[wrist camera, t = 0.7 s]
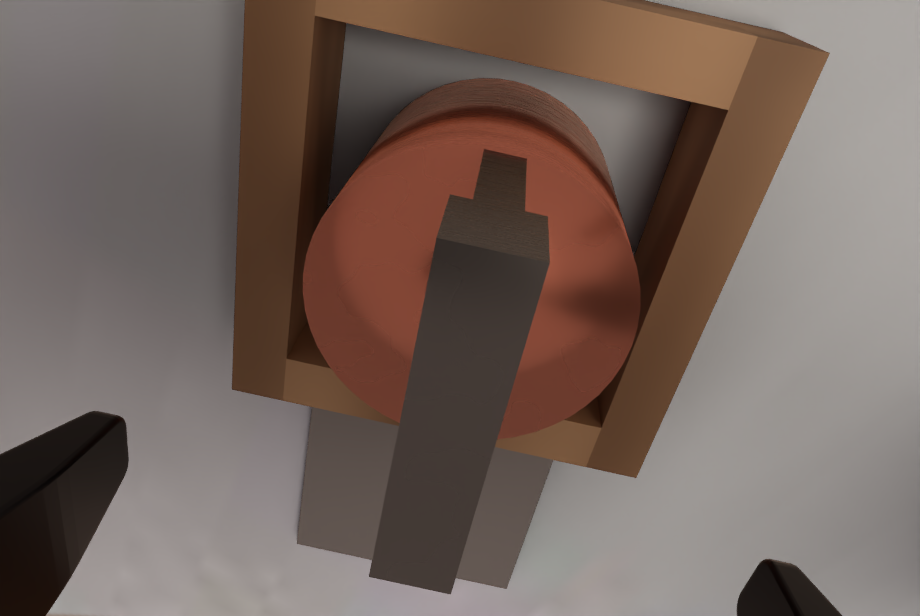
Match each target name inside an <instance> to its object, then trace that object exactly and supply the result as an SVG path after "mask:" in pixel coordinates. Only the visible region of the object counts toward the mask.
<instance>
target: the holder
mask: <svg viewBox="0 0 920 616" xmlns="http://www.w3.org/2000/svg"><path fill="white" fill-rule="evenodd" d="M346 23H350V24H354V25H358V26H363V27H367V28H371V29H376V30H380V31H385V32H389V33H393V34H398V35H402V36H406V37H411V38H415V39H419V40H424V41H428V42H433V43H437V44H441V45H446V46H450V47H454V48H459V49H463V50H468V51H472V52H476V53H481V54H485V55H489V56H494V57H498V58H503V59H507V60H511V61H516V62H520V63H524V64H529V65H533V66H538V67H542V68H546V69H551V70H555V71H559V72H564V73H568V74H573V75H577V76H581V77H586V78H590V79H594V80H599V81H603V82H608V83H612V84H616V85H621V86H625V87H629V88H634V89H638V90H643V91H647V92H651V93H656V94H660V95H664V96H669V97H673V98H678V99H682V100H686V101H691V104H690V107H689V110H688V112H687V115H686V118H685V121H684V123H683V126H682V129H681V131H680V134H679V137H678V139H677V142H676V145H675V148H674V150H673V153H672V156H671V158H670V161H669V164H668V167H667V169H666V172H665V175H664V177H663V180H662V183H661V186H660V188H659V191H658V194H657V196H656V199H655V202H654V204H653V207H652V210H651V213H650V215H649V218H648V221H647V223H646V226H645V229H644V232H643V234H642V237H641V240H640V242H639V245H638V248H637V251H636V253H635V256H634V259H635V263H636V266H637V270H638V277H639V283H640V314H639V321H638V327H637V331H636V334H635V337H634V341H633V344H632V347H631V349H630V351H629V353H628V355H627V357H626V359H625V361H624V363H623V365H622V366H621V368H620V369H619V371H618V372H617V374H616V375H615V377H614V378H613V380H612V381H611V382H610V383H609V384H608V385H607V386H606V388H605V389H604V390H603V391H602V392H601V393H600V394H599V395H598V396H597V397H596V398H595V399H593V400H592V401H591V402H590V403H589V404H588V405H586V406H585V407H584V408H582V409H581V410H579V411H578V412H576V413H575V414H573V415H572V416H570V417H568V418H566V419H564V420H562V421H560V422H558V423H556V424H555V425H553V426H550V427H547V428H544V429H542V430H539V431H536V432H533V433H529V434H525V435H521V436H517V437H512V438H505V439H498V440H497V441H496V445H495V447H497V448H502V449H506V450H511V451H515V452H520V453H525V454H529V455H534V456H538V457H543V458H547V459H552V460H556V461H561V462H566V463H570V464H575V465H579V466H584V467H588V468H593V469H598V470H602V471H607V472H611V473H616V474H620V475H625V476H629V477H634V478H636V477H637V475H638V473H639V470H640V468H641V466H642V464H643V462H644V459H645V457H646V455H647V453H648V451H649V448H650V446H651V444H652V442H653V440H654V438H655V435H656V433H657V431H658V429H659V427H660V424H661V422H662V420H663V418H664V416H665V413H666V411H667V409H668V407H669V405H670V402H671V400H672V398H673V396H674V394H675V391H676V389H677V387H678V385H679V383H680V380H681V378H682V376H683V374H684V372H685V370H686V367H687V365H688V363H689V361H690V359H691V356H692V354H693V352H694V350H695V348H696V345H697V343H698V341H699V339H700V337H701V334H702V332H703V330H704V328H705V326H706V323H707V321H708V319H709V317H710V315H711V312H712V310H713V308H714V306H715V304H716V302H717V299H718V297H719V295H720V293H721V291H722V288H723V286H724V284H725V282H726V280H727V277H728V275H729V273H730V271H731V269H732V266H733V264H734V262H735V260H736V258H737V255H738V253H739V251H740V249H741V247H742V244H743V242H744V240H745V238H746V236H747V234H748V231H749V229H750V227H751V225H752V223H753V220H754V218H755V216H756V214H757V212H758V209H759V207H760V205H761V203H762V201H763V198H764V196H765V194H766V192H767V190H768V187H769V185H770V183H771V181H772V179H773V176H774V174H775V172H776V170H777V168H778V166H779V163H780V161H781V159H782V157H783V155H784V152H785V150H786V148H787V146H788V144H789V141H790V139H791V137H792V135H793V133H794V130H795V128H796V126H797V124H798V122H799V119H800V117H801V115H802V113H803V111H804V109H805V106H806V104H807V102H808V100H809V98H810V95H811V93H812V91H813V89H814V87H815V84H816V82H817V80H818V78H819V76H820V73H821V71H822V69H823V67H824V65H825V62H826V60H827V58H828V56H829V54H830V53H828V52H826V51H824V50H821V49H819V48H817V47H815V46H812V45H810V44H808V43H806V42H803V41H801V40H799V39H797V38H794V37H792V36H790V35H788V34H785V33H783V32H779V31H775V30H771V29H766V28H762V27H758V26H753V25H749V24H745V23H740V22H736V21H732V20H727V19H723V18H719V17H714V16H710V15H706V14H701V13H697V12H693V11H688V10H684V9H680V8H675V7H671V6H667V5H662V4H658V3H654V2H649V1H645V0H245V13H244V43H243V73H242V103H241V133H240V163H239V193H238V223H237V253H236V283H235V313H234V343H233V373H232V390H237V391H242V392H246V393H251V394H255V395H260V396H264V397H269V398H274V399H278V400H283V401H287V402H292V403H296V404H301V405H305V406H310V407H315V408H319V409H324V410H328V411H333V412H337V413H342V414H347V415H351V416H356V417H360V418H365V419H369V420H374V421H378V422H383V423H388V424H392V425H397V426H399V423H398V422H396V421H394V420H392V419H390V418H388V417H386V416H385V415H383V414H381V413H380V412H378V411H377V410H375V409H374V408H372V407H370V406H369V405H367V404H366V403H365V402H364V401H362V400H361V399H360V398H359V397H358V396H356V395H355V394H354V393H353V392H352V391H351V390H350V389H349V388H348V387H347V386H346V385H345V384H344V383H343V382H342V381H341V380H340V379H339V378H338V377H337V375H336V374H335V373H334V371H333V370H332V369H331V368H330V366H329V365H328V364H327V362H326V360H325V359H324V357H323V355H322V354H321V352H320V350H319V348H318V347H317V344H316V342H315V340H314V337H313V335H312V333H311V330H310V327H309V323H308V320H307V316H306V312H305V306H304V298H303V271H304V265H305V259H306V254H307V251H308V248H309V245H310V242H311V239H312V236H313V234H314V232H315V230H316V228H317V226H318V224H319V222H320V220H321V218H322V216H323V215H324V214H325V212H326V211H327V201H328V192H329V182H330V173H331V163H332V154H333V144H334V135H335V125H336V116H337V106H338V97H339V87H340V78H341V68H342V59H343V49H344V40H345V30H346Z"/></svg>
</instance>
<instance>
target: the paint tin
mask: <svg viewBox="0 0 920 616" xmlns="http://www.w3.org/2000/svg"><path fill="white" fill-rule="evenodd" d="M303 298H304V306H305V312H306V316H307V320H308V323H309V327H310V330H311V333H312V335H313V337H314V340H315V342H316V344H317V347H318V348H319V350H320V352H321V354H322V355H323V357H324V359H325V360H326V362H327V364H328V365H329V366H330V368H331V369H332V370H333V371H334V373H335V374H336V375H337V377H338V378H339V379H340V380H341V381H342V382H343V383H344V384H345V385H346V386H347V387H348V388H349V389H350V390H351V391H352V392H353V393H354V394H355V395H356V396H358V397H359V398H360V399H361V400H362V401H364V402H365V403H366V404H367V405H369V406H370V407H372V408H374V409H375V410H377V411H378V412H380V413H381V414H383V415H385V416H386V417H388V418H390V419H392V420H394V421H396V422H398V423H399V428H398V433H397V438H396V443H395V448H394V453H393V459H392V464H391V469H390V474H389V479H388V484H387V489H386V494H385V499H384V504H383V509H382V514H381V519H380V524H379V529H378V534H377V539H376V544H375V549H374V554H373V559H372V564H371V569H370V574H369V577H373V578H377V579H382V580H387V581H391V582H396V583H400V584H405V585H410V586H414V587H419V588H424V589H428V590H433V591H438V592H442V593H447V594H451V591H452V588H453V585H454V581H455V578H456V575H457V571H458V568H459V565H460V561H461V558H462V555H463V551H464V548H465V545H466V541H467V538H468V535H469V531H470V528H471V525H472V521H473V518H474V515H475V511H476V508H477V505H478V501H479V498H480V495H481V491H482V488H483V485H484V481H485V478H486V475H487V471H488V468H489V465H490V461H491V458H492V455H493V451H494V448H495V445H496V441H497V440H498V439H505V438H512V437H517V436H521V435H525V434H529V433H533V432H536V431H539V430H542V429H544V428H547V427H550V426H553V425H555V424H556V423H558V422H560V421H562V420H564V419H566V418H568V417H570V416H572V415H573V414H575V413H576V412H578V411H579V410H581V409H582V408H584V407H585V406H586V405H588V404H589V403H590V402H591V401H592V400H593V399H595V398H596V397H597V396H598V395H599V394H600V393H601V392H602V391H603V390H604V389H605V388H606V386H607V385H608V384H609V383H610V382H611V381H612V380H613V378H614V377H615V375H616V374H617V372H618V371H619V369H620V368H621V366H622V365H623V363H624V361H625V359H626V357H627V355H628V353H629V351H630V349H631V347H632V344H633V341H634V337H635V334H636V331H637V327H638V321H639V314H640V283H639V277H638V270H637V266H636V263H635V259H634V256H633V253H632V249H631V246H630V242H629V239H628V236H627V232H626V229H625V226H624V222H623V219H622V215H621V212H620V209H619V205H618V202H617V198H616V195H615V192H614V188H613V185H612V181H611V178H610V175H609V171H608V168H607V165H606V162H605V159H604V156H603V153H602V151H601V149H600V147H599V145H598V143H597V141H596V139H595V138H594V136H593V135H592V133H591V132H590V130H589V129H588V127H587V126H586V125H585V124H584V123H583V122H582V121H581V119H580V118H579V117H578V116H577V115H576V114H575V113H574V112H573V111H571V110H570V109H569V108H568V107H567V106H566V105H564V104H563V103H562V102H560V101H559V100H557V99H555V98H554V97H552V96H551V95H549V94H547V93H545V92H543V91H541V90H539V89H536V88H534V87H532V86H529V85H525V84H522V83H519V82H515V81H509V80H503V79H490V78H478V79H469V80H462V81H458V82H454V83H450V84H446V85H444V86H441V87H439V88H436V89H434V90H431V91H429V92H427V93H426V94H424V95H422V96H421V97H419V98H417V99H415V100H414V101H413V102H412V103H410V104H409V105H408V106H406V107H405V108H404V109H403V110H402V111H401V112H400V113H399V114H398V115H397V116H396V117H395V118H394V119H393V120H392V121H391V122H390V123H389V125H388V126H387V128H386V129H385V130H384V132H383V133H382V135H381V136H380V137H379V139H378V140H377V141H376V143H375V144H374V146H373V147H372V148H371V150H370V151H369V153H368V154H367V155H366V157H365V158H364V159H363V161H362V162H361V164H360V165H359V166H358V168H357V169H356V171H355V172H354V173H353V175H352V176H351V178H350V179H349V180H348V182H347V183H346V184H345V186H344V187H343V189H342V190H341V191H340V193H339V194H338V196H337V197H336V198H335V200H334V201H333V202H332V204H331V205H330V207H329V208H328V209H327V211H326V212H325V214H324V215H323V216H322V218H321V220H320V222H319V224H318V226H317V228H316V230H315V232H314V234H313V236H312V239H311V242H310V245H309V248H308V251H307V254H306V259H305V265H304V271H303Z"/></svg>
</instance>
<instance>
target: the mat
mask: <svg viewBox="0 0 920 616" xmlns="http://www.w3.org/2000/svg"><path fill="white" fill-rule="evenodd" d="M398 428H399V426H397V425H392V424H388V423H383V422H378V421H374V420H369V419H365V418H360V417H356V416H351V415H347V414H342V413H337V412H333V411H328V410H324V409H319V408H315V407H312V412H311V421H310V430H309V439H308V447H307V456H306V465H305V474H304V483H303V492H302V501H301V510H300V519H299V528H298V537H297V544H301V545H305V546H310V547H315V548H319V549H324V550H329V551H333V552H338V553H343V554H347V555H352V556H356V557H361V558H366V559H370V560H372V559H373V554H374V549H375V544H376V539H377V534H378V529H379V524H380V519H381V514H382V509H383V504H384V499H385V494H386V489H387V484H388V479H389V474H390V469H391V464H392V459H393V453H394V448H395V443H396V438H397V433H398ZM552 462H553V460H552V459H547V458H543V457H538V456H534V455H529V454H525V453H520V452H515V451H511V450H506V449H502V448H497V447H495V448H494V451H493V455H492V458H491V461H490V465H489V468H488V471H487V475H486V478H485V481H484V485H483V488H482V491H481V495H480V498H479V501H478V505H477V508H476V511H475V515H474V518H473V521H472V525H471V528H470V531H469V535H468V538H467V541H466V545H465V548H464V551H463V555H462V558H461V561H460V565H459V568H458V571H457V575H456V578H458V579H463V580H468V581H472V582H477V583H482V584H486V585H491V586H496V587H500V588H505V589H507V586H508V583H509V580H510V578H511V575H512V572H513V569H514V567H515V564H516V561H517V558H518V556H519V553H520V550H521V547H522V545H523V542H524V539H525V536H526V534H527V531H528V528H529V525H530V523H531V520H532V517H533V514H534V512H535V509H536V506H537V503H538V501H539V498H540V495H541V492H542V490H543V487H544V484H545V481H546V479H547V476H548V473H549V470H550V468H551V465H552Z"/></svg>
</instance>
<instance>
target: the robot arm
mask: <svg viewBox="0 0 920 616" xmlns="http://www.w3.org/2000/svg"><path fill="white" fill-rule="evenodd" d="M127 467H128V445H127V431H126V423H125V420H124V419H123V418H122V417H120V416H118V415H113V414H109V413H104V412H100V411H92V412H89V413H86V414H84V415H82V416H80V417H78V418H76V419H73V420H71V421H69V422H67V423H65V424H63V425H61V426H59V427H57V428H55V429H52V430H50V431H48V432H46V433H44V434H42V435H40V436H38V437H36V438H34V439H31V440H29V441H27V442H25V443H23V444H21V445H19V446H17V447H15V448H13V449H10V450H8V451H6V452H4V453H2V454H0V616H46V614H47V613H48V612H49V610H50V609H51V607H52V606H53V604H54V603H55V601H56V600H57V598H58V597H59V595H60V594H61V592H62V590H63V589H64V587H65V586H66V584H67V583H68V581H69V579H70V578H71V576H72V574H73V573H74V571H75V569H76V567H77V565H78V564H79V562H80V560H81V558H82V556H83V554H84V552H85V551H86V549H87V547H88V545H89V543H90V541H91V539H92V537H93V535H94V534H95V532H96V530H97V528H98V526H99V524H100V522H101V520H102V518H103V516H104V515H105V513H106V511H107V509H108V507H109V505H110V503H111V501H112V499H113V497H114V496H115V494H116V492H117V490H118V488H119V486H120V484H121V482H122V480H123V478H124V476H125V474H126V471H127ZM737 616H842V615H841V614H840V613H839V611H838V610H837V609H836V608H835V607H834V606H833V605H832V604H831V603H830V602H829V600H828V599H827V598H826V597H825V596H824V595H823V594H822V593H821V592H820V591H819V590H818V588H817V587H816V586H815V585H814V584H813V583H812V582H811V581H810V580H809V579H808V578H807V576H806V575H805V574H804V573H803V572H802V571H801V570H800V569H799V568H798V567H796V566H795V565H793V564H790V563H786V562H781V561H777V560H772V559H765V560H763V561H761V562H760V564H759V565H758V566H757V568H756V570H755V571H754V573H753V574H752V576H751V577H750V579H749V581H748V582H747V584H746V585H745V587H744V588H743V590H742V592H741V593H740V595H739V598H738V603H737Z"/></svg>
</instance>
